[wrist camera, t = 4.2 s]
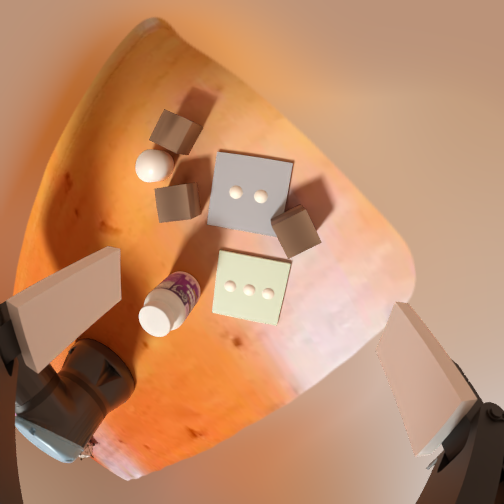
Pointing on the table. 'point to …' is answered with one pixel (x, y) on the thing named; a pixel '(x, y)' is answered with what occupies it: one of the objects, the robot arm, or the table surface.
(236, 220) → the pad two
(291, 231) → the cube
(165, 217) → the cube
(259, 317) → the pad three
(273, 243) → the table surface
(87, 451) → the game die
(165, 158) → the white cap
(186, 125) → the cube
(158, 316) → the pill bottle
